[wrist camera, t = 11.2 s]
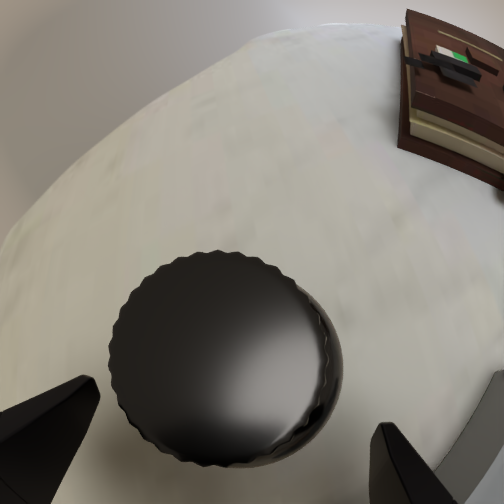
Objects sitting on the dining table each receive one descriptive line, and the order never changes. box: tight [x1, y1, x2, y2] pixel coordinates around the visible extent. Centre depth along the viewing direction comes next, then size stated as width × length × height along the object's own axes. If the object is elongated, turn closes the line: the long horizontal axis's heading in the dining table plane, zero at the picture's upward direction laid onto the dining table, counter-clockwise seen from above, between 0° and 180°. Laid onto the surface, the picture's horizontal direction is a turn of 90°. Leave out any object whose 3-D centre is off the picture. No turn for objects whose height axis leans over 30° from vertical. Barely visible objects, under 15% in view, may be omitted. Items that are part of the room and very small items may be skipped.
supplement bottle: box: [108, 250, 343, 468], centre depth 11 cm, size 7×7×12 cm
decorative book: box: [397, 9, 504, 191], centre depth 23 cm, size 19×8×30 cm
